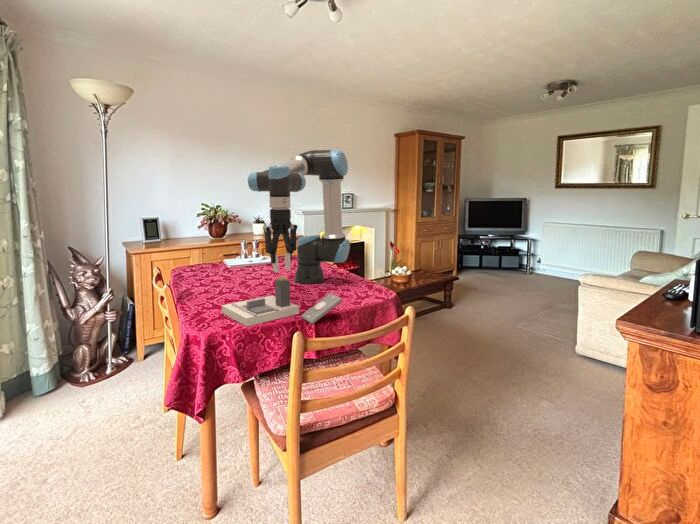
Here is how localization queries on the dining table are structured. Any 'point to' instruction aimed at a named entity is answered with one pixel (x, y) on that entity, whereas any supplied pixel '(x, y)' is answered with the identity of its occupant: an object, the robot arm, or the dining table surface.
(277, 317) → the socket board
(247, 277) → the dining table surface
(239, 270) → the dining table surface
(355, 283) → the dining table surface
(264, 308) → the shutter
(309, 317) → the light switch
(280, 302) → the plug
